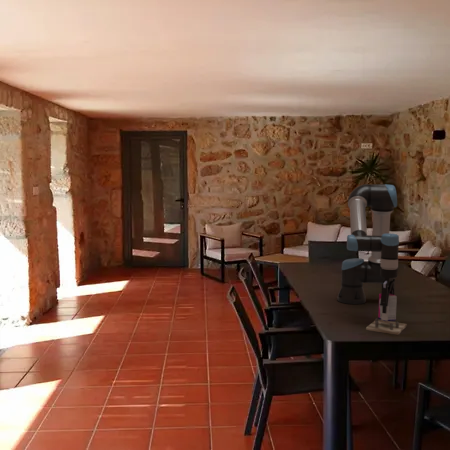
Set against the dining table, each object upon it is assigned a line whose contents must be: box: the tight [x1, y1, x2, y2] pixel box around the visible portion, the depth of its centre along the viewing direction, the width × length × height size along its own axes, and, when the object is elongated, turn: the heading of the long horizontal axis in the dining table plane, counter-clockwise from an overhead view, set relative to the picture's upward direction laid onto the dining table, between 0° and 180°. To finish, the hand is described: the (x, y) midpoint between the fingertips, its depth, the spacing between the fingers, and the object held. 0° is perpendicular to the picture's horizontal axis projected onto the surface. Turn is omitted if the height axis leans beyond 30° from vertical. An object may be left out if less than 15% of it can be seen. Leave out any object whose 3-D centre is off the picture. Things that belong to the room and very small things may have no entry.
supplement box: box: [377, 293, 398, 322], centre depth 243 cm, size 6×6×12 cm
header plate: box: [365, 318, 408, 336], centre depth 243 cm, size 16×14×4 cm
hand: (387, 317), depth 243 cm, fingers closed on supplement box, 8 cm apart
